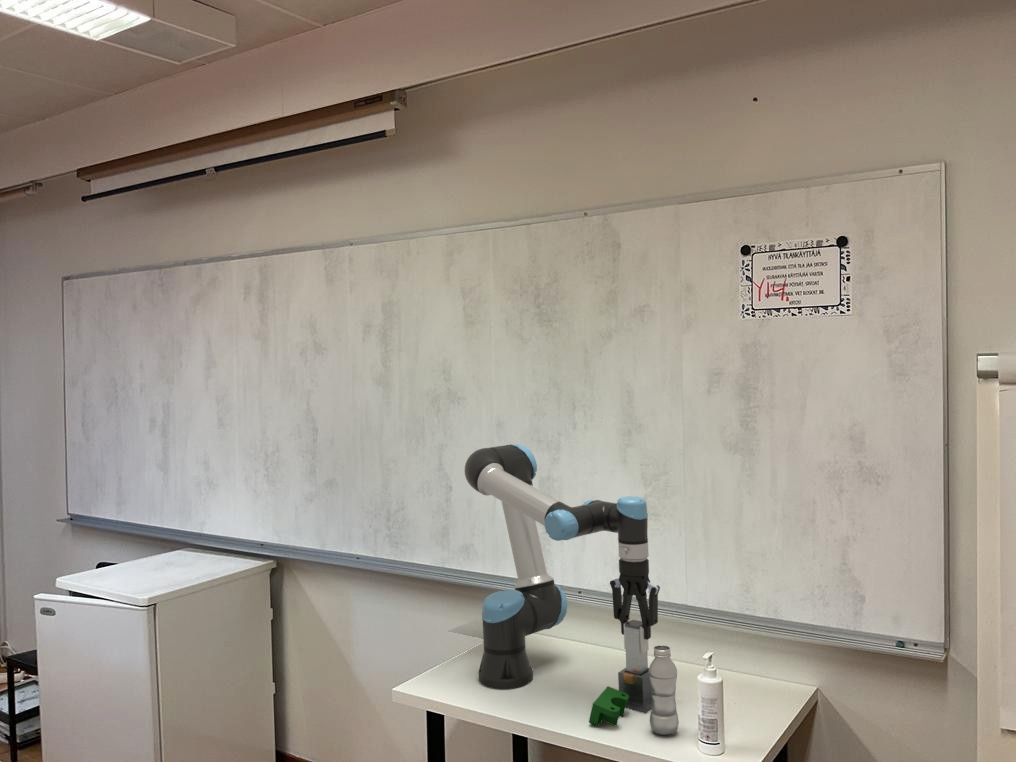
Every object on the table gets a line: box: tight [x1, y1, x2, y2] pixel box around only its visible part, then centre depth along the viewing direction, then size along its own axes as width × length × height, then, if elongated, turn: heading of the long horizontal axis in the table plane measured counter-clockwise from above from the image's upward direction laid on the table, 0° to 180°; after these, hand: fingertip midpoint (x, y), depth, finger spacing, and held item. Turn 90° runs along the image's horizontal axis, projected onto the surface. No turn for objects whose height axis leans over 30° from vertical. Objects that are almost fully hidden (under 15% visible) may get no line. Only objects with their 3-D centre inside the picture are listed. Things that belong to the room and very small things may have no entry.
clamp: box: [588, 685, 629, 727], centre depth 202 cm, size 12×6×9 cm, turn 149°
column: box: [625, 619, 649, 676], centre depth 211 cm, size 4×4×15 cm
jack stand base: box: [617, 667, 652, 714], centre depth 211 cm, size 10×10×8 cm
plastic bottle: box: [648, 644, 680, 736], centre depth 193 cm, size 6×7×20 cm
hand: (636, 649), depth 211 cm, fingers closed on column, 4 cm apart
